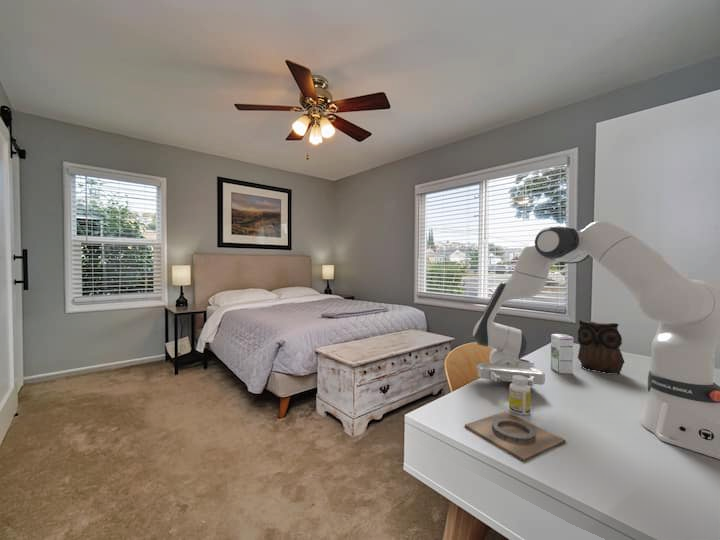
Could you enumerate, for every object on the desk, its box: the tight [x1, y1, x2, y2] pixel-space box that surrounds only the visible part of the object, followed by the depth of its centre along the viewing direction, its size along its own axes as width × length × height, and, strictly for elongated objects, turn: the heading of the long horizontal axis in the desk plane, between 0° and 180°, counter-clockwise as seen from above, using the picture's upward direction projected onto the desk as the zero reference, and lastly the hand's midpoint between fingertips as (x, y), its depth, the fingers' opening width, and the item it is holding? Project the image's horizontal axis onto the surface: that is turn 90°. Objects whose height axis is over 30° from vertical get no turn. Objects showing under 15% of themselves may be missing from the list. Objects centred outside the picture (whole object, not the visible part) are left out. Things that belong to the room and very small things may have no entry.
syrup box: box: [550, 333, 574, 374], centre depth 124 cm, size 6×6×14 cm
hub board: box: [464, 411, 566, 463], centre depth 76 cm, size 16×16×2 cm
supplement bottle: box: [508, 375, 532, 416], centre depth 89 cm, size 5×5×10 cm
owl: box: [577, 319, 626, 375], centre depth 127 cm, size 13×13×20 cm
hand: (514, 381), depth 97 cm, fingers open, 8 cm apart
